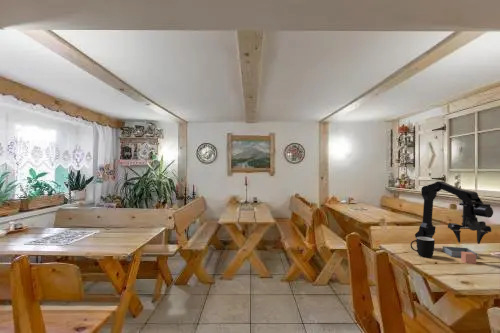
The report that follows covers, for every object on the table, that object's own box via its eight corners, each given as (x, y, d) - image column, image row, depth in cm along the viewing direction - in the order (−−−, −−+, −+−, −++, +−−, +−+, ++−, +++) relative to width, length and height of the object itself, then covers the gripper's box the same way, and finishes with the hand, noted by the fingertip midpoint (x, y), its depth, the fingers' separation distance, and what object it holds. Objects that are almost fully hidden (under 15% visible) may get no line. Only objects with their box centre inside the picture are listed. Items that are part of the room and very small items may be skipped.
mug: (434, 255, 172) (434, 238, 172) (434, 259, 165) (434, 241, 165) (410, 252, 179) (411, 235, 179) (409, 255, 171) (410, 238, 171)
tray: (451, 256, 170) (451, 251, 170) (442, 251, 182) (442, 246, 182) (477, 258, 168) (477, 253, 168) (466, 252, 179) (466, 247, 179)
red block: (465, 263, 160) (465, 253, 160) (461, 260, 165) (461, 251, 165) (476, 264, 159) (476, 254, 159) (471, 261, 163) (471, 252, 164)
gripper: (457, 215, 156) (456, 245, 156) (498, 217, 152) (497, 248, 152) (447, 212, 167) (447, 240, 167) (485, 214, 163) (485, 243, 163)
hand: (468, 243), depth 162 cm, fingers open, 9 cm apart
